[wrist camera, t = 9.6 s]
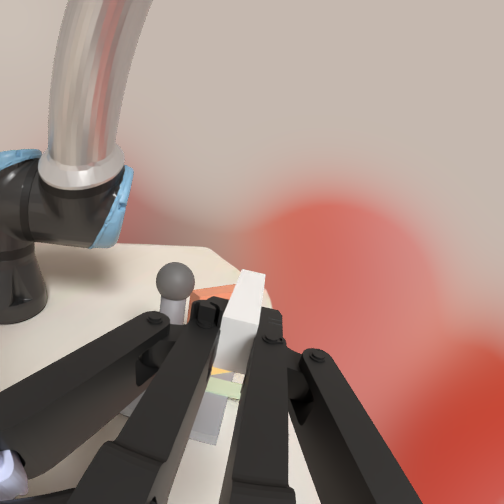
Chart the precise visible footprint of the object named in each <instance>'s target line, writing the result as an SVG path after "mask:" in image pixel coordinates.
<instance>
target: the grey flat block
mask: <svg viewBox="0 0 504 504" xmlns="http://www.w3.org/2000/svg"><path fill="white" fill-rule="evenodd" d="M213 364H214V363H213ZM233 375H234V372H232V371H227V370H223V369H219V368H215V367H213V366H212V372H211V375H210V378H209V381H208V384H207V387H206V390H205V393H204V396H203V398H202V401H201V404H200V407H199V410H198V413H197V416H196V418H195V421H194V424H193V427H192V430H191V433H190V436H189V438H190V439H193V440H197V441H200V442H204V443H208V444H212V445H216V442H217V438H218V434H219V431H220V427H221V423H222V419H223V415H224V411H225V407H226V403H227V399H228V397H231V398H235V399H240V396H241V393H240V391H241V388H242V384H239V383H235V382H232V379H233ZM145 391H146V390H145ZM145 391H144V392H145ZM144 392H143V393H142V394H140V395H139V396H138V397H137V398H136V399H135V400H134V401H132V402H131V403H130V404H129V405H128V406H127V407H126V408H124V409H123V410H122V411H121V412H120V413H121V414H123V415H125V416H128V417H130V415H131V414H132V412H133V410H134V409H135V407H136V406H137V404H138V402H139V401H140V399H141V397H142V396H143V394H144Z"/></svg>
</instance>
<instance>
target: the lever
mask: <svg viewBox="0 0 504 504" xmlns="http://www.w3.org/2000/svg"><path fill="white" fill-rule="evenodd" d="M194 285H195V279H194V275H193V273H192V271H191V270H190V269H189V268H188V267H187V266H186V265H184V264H182V263H178V262H172V263H168V264H166V265H165V266H163V267H162V268H161V269H160V271H159V272H158V274H157V278H156V286H157V289H158V291H159V293H160V294H161V304H160V313H163V314H165V315H167V316H168V317H169V318H170V324H177V325H183V322H184V313H185V305H186V298H187V297H189V296H190V302H189V309H188V318H187V323H188V322H189V320H190V313H191V306H192V303H193V302H194V301H196V300H207V299H208V298H210V297H212V296H216V297H220V298H224V299H228V300H230V297H231V295H232V292H233V290H234V288H235V285H236V284H233V285H226V286H219V287H212V288H204V289H197V290H193V289H194Z"/></svg>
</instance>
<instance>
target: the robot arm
mask: <svg viewBox="0 0 504 504" xmlns="http://www.w3.org/2000/svg"><path fill="white" fill-rule="evenodd" d="M152 1H153V0H68V3H67V6H66V9H65V13H64V16H63V20H62V24H61V28H60V33H59V37H58V42H57V47H56V52H55V58H54V64H53V71H52V79H51V89H50V101H49V120H48V149H47V150H46V151H45V152H44V153H43V154H42V153H41V151H40V150H37V149H21V150H10V151H3V152H0V324H11V323H16V322H21V321H24V320H26V319H29V318H31V317H33V316H35V315H36V314H37V313H39V312H40V311H41V310H42V309H43V308H44V306H45V305H46V302H47V294H46V286H45V282H44V279H43V277H42V274H41V271H40V268H39V265H38V262H37V259H36V256H35V246H34V242H41V243H49V244H57V245H66V246H74V247H83V248H88V249H92V248H110V247H112V246H114V245H115V244H116V242H117V240H118V238H119V235H120V231H121V227H122V223H123V219H124V214H125V207H126V205H127V201H128V197H129V193H130V188H131V184H132V179H133V173H134V171H133V169H132V168H131V167H128V166H127V165H124V160H125V159H124V153H123V151H122V149H121V148H120V147H119V146H118V145H117V144H116V143H115V140H116V133H117V127H118V121H119V115H120V110H121V105H122V100H123V95H124V91H125V86H126V82H127V78H128V74H129V70H130V66H131V63H132V59H133V56H134V52H135V49H136V46H137V43H138V39H139V36H140V33H141V30H142V27H143V25H144V22H145V19H146V16H147V14H148V11H149V8H150V6H151V4H152ZM264 283H265V274H261V273H257V272H252V271H248V270H244V269H242V271H241V273H240V276H239V278H238V280H237V283H236V285H235V288H234V290H233V292H232V295H231V297H230V300H228V299H224V298H220V297H216V296H212V297H210V298H208V299H207V300H196V301H194V302H193V303H192V306H191V313H190V320H189V322H188V323H187V324H185V325H177V324H170V318H169V317H168V316H167V315H165V314H163V313H160V312H157V311H150V312H145V313H142V314H141V315H139V316H137V317H135V318H133V319H132V320H130V321H128V322H126V323H124V324H123V325H121V326H119V327H117V328H115V329H114V330H112V331H110V332H108V333H106V334H104V335H103V336H101V337H99V338H97V339H95V340H94V341H92V342H90V343H88V344H86V345H85V346H83V347H81V348H79V349H77V350H76V351H74V352H72V353H70V354H68V355H67V356H65V357H63V358H61V359H59V360H58V361H56V362H54V363H52V364H50V365H48V366H47V367H45V368H43V369H41V370H39V371H38V372H36V373H34V374H32V375H30V376H29V377H27V378H25V379H23V380H21V381H20V382H18V383H16V384H14V385H12V386H10V387H9V388H7V389H5V390H3V391H1V392H0V504H167V500H168V496H169V493H170V490H171V487H172V484H173V481H174V479H175V476H176V473H177V470H178V467H179V464H180V461H181V459H182V456H183V453H184V450H185V447H186V444H187V441H188V439H189V436H190V433H191V430H192V427H193V424H194V421H195V418H196V416H197V413H198V410H199V407H200V404H201V401H202V398H203V396H204V393H205V390H206V387H207V384H208V381H209V378H210V375H211V372H212V366H213V367H215V368H219V369H223V370H227V371H232V372H236V373H240V374H245V377H244V381H243V384H242V388H241V391H240V393H241V396H240V401H239V406H238V411H237V416H236V422H235V427H234V432H233V437H232V442H231V447H230V451H229V456H228V461H227V466H226V471H225V476H224V481H223V485H222V490H221V495H220V499H219V504H296V497H295V492H294V489H293V488H291V487H289V485H288V412H289V415H290V418H291V421H292V424H293V427H294V429H295V432H296V435H297V438H298V441H299V444H300V446H301V449H302V452H303V455H304V458H305V461H306V463H307V466H308V469H309V472H310V475H311V477H312V480H313V483H314V486H315V488H316V491H317V494H318V496H319V499H320V502H321V504H423V503H422V502H421V500H420V498H419V497H418V495H417V493H416V492H415V490H414V488H413V487H412V485H411V483H410V482H409V480H408V479H407V477H406V475H405V474H404V472H403V470H402V469H401V467H400V465H399V464H398V462H397V461H396V459H395V458H394V456H393V454H392V452H391V451H390V449H389V448H388V446H387V444H386V443H385V441H384V440H383V438H382V436H381V435H380V433H379V432H378V430H377V428H376V427H375V425H374V424H373V422H372V421H371V419H370V417H369V416H368V414H367V412H366V411H365V409H364V408H363V406H362V404H361V403H360V401H359V400H358V398H357V396H356V395H355V393H354V392H353V390H352V389H351V387H350V385H349V384H348V382H347V381H346V379H345V378H344V376H343V375H342V373H341V371H340V370H339V368H338V367H337V365H336V364H335V362H334V360H333V359H332V357H331V356H330V355H329V354H328V353H326V352H324V351H323V350H320V349H314V348H311V349H306V350H304V352H303V353H302V354H300V353H297V352H294V351H293V350H291V349H289V348H288V347H287V346H286V341H285V339H284V338H283V332H282V331H283V330H282V315H281V313H280V312H279V311H278V310H274V309H270V308H265V307H261V305H262V298H263V290H264ZM213 363H214V364H213ZM145 390H146V391H145ZM144 391H145V392H144ZM143 392H144V394H143V396H142V397H141V399H140V401H139V402H138V404H137V406H136V407H135V409H134V410H133V412H132V414H131V415H130V417H129V419H128V420H127V422H126V424H125V425H124V427H123V429H122V430H121V432H120V434H119V435H118V437H117V438H116V440H115V441H107V442H105V443H104V444H103V445H102V446H101V448H100V449H99V451H98V452H97V454H96V455H95V457H94V459H93V460H92V462H91V464H90V465H89V467H88V468H87V470H86V472H85V473H84V475H83V477H82V478H81V480H80V482H79V483H78V485H77V487H76V488H71V489H67V490H63V491H59V492H54V493H50V494H45V495H40V496H34V497H28V498H21V499H14V498H15V497H16V496H18V495H26V494H27V493H28V479H32V478H35V477H37V476H39V475H41V474H43V473H45V472H47V471H48V470H50V469H51V468H53V467H54V466H55V465H57V464H58V463H59V462H61V461H62V460H63V459H64V458H66V457H67V456H68V455H69V454H71V453H72V452H73V451H74V450H75V449H77V448H78V447H79V446H80V445H82V444H83V443H84V442H85V441H86V440H88V439H89V438H90V437H91V436H93V435H94V434H95V433H96V432H97V431H99V430H100V429H101V428H102V427H103V426H104V425H106V424H107V423H108V422H109V421H110V420H112V419H113V418H114V417H115V416H116V415H117V414H119V413H120V412H121V411H122V410H123V409H124V408H126V407H127V406H128V405H129V404H130V403H131V402H132V401H134V400H135V399H136V398H137V397H138V396H139V395H140V394H142V393H143Z"/></svg>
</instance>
